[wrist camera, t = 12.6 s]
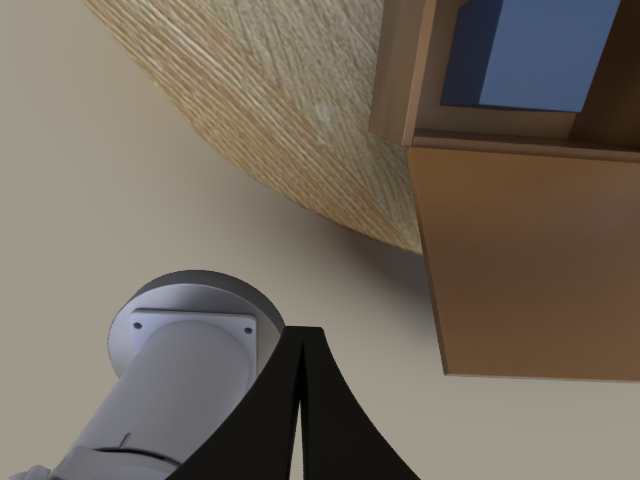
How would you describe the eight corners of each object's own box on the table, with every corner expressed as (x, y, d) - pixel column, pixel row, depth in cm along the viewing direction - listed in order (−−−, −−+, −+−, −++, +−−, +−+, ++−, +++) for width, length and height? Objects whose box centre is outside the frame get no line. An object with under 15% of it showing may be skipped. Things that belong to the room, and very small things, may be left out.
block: (546, 15, 16) (627, -17, 12) (518, 111, 18) (581, 112, 14) (458, 7, 16) (510, -29, 12) (439, 105, 18) (478, 104, 13)
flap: (730, 170, 11) (721, 175, 12) (408, 146, 11) (405, 153, 11) (935, 393, 8) (914, 394, 8) (449, 374, 7) (443, 376, 7)
